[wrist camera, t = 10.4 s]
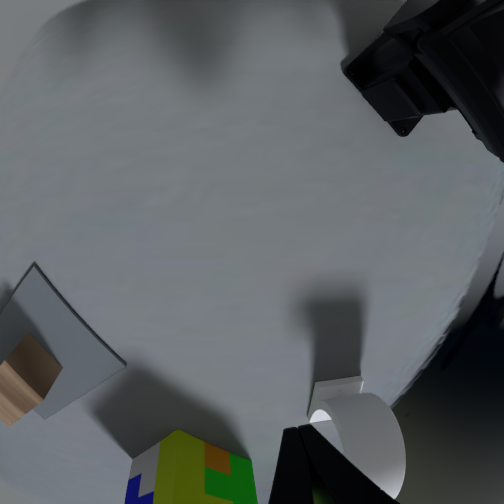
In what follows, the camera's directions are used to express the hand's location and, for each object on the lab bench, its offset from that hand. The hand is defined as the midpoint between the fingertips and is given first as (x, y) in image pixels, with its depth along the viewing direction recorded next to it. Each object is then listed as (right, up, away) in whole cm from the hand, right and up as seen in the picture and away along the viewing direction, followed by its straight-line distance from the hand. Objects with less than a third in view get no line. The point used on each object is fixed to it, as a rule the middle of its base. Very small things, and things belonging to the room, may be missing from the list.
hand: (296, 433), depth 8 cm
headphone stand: (+6, -8, +17) cm, 20 cm away
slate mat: (-22, -5, +13) cm, 26 cm away
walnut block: (-19, -4, +10) cm, 22 cm away
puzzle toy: (-8, -18, +19) cm, 28 cm away
